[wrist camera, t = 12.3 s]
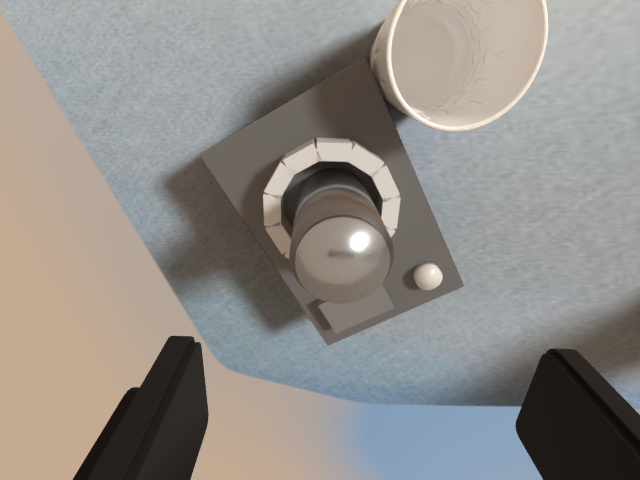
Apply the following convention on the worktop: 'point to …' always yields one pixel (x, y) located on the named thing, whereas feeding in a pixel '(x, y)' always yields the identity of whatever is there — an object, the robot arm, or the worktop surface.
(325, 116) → the camera body
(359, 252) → the shiny metal cylinder
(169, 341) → the robot arm
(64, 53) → the worktop surface
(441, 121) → the white cup
